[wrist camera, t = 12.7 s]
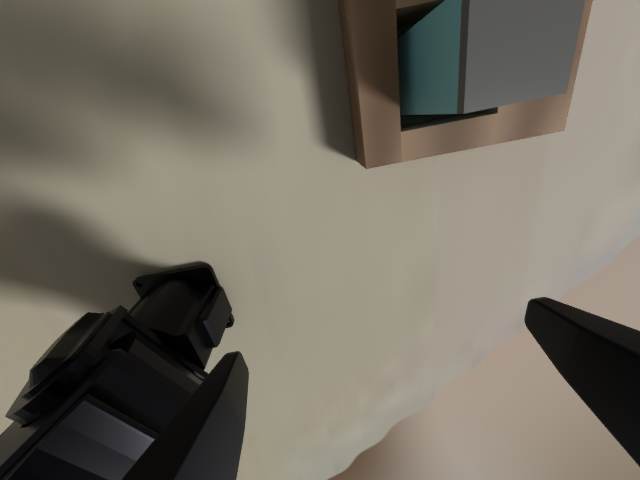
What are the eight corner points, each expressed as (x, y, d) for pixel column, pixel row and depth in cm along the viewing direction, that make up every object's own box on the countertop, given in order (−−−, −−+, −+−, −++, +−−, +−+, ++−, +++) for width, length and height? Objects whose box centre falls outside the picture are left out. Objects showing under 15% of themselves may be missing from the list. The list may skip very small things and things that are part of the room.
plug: (396, 115, 17) (463, 113, 10) (393, 42, 16) (470, -22, 8) (456, 103, 17) (566, 93, 10) (459, 28, 16) (595, -48, 8)
